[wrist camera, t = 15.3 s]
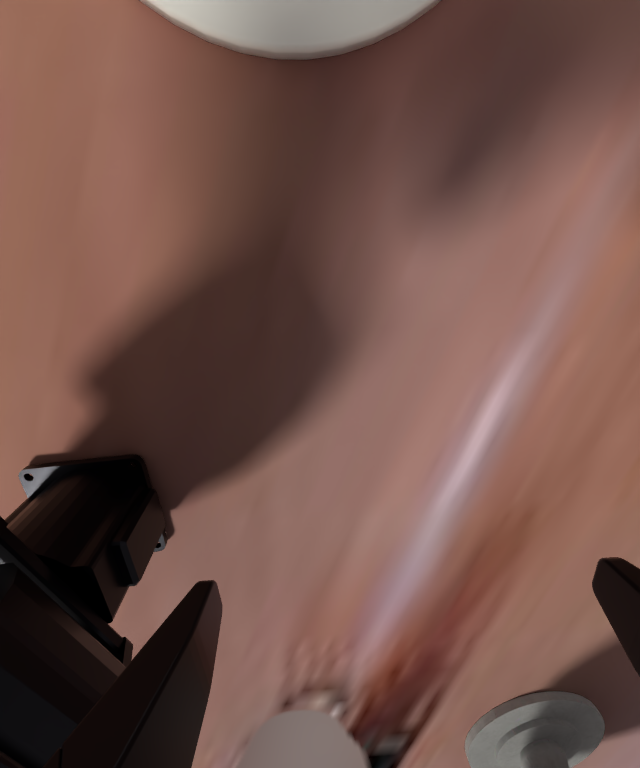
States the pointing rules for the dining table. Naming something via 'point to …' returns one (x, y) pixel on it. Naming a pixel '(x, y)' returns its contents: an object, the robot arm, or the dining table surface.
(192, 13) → the plate
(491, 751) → the mate gourd
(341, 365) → the dining table surface
